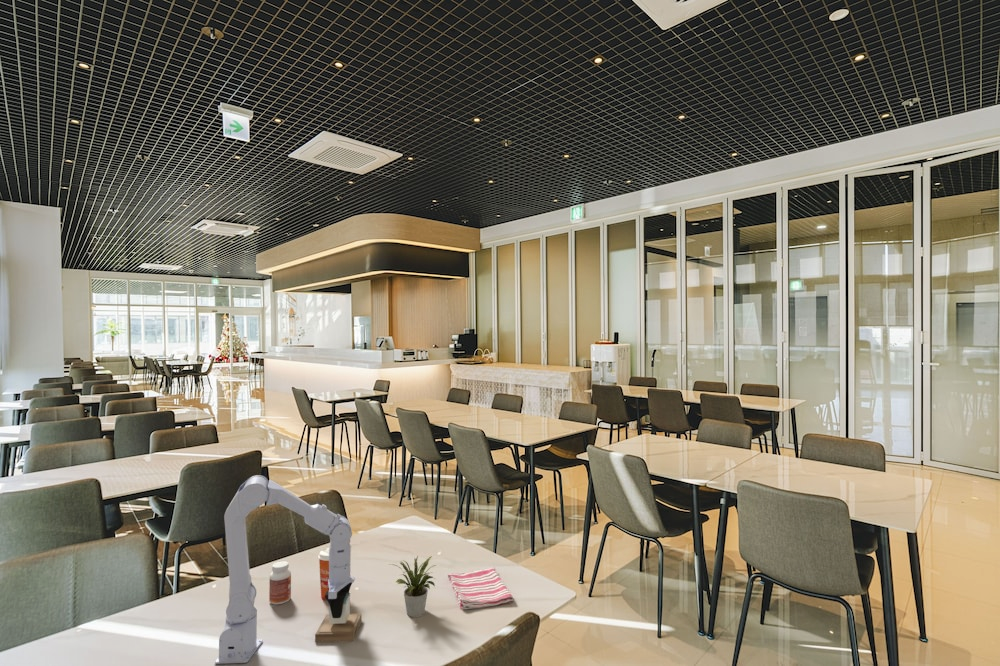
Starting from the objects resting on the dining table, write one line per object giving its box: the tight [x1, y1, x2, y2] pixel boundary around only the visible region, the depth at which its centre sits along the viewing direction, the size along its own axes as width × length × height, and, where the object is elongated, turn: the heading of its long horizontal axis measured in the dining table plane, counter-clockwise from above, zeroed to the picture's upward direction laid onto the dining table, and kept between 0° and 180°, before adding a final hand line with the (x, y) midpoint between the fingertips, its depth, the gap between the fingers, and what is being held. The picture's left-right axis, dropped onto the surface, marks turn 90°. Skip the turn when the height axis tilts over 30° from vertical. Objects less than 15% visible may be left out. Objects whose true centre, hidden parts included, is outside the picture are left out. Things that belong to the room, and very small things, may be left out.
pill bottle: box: [268, 560, 292, 605], centre depth 156 cm, size 6×6×11 cm
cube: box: [328, 592, 351, 624], centre depth 139 cm, size 5×5×6 cm
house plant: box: [387, 555, 437, 618], centre depth 148 cm, size 14×14×16 cm
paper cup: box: [317, 547, 329, 601], centre depth 159 cm, size 8×8×14 cm
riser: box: [314, 613, 362, 643], centre depth 139 cm, size 10×10×2 cm
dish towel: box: [447, 567, 514, 610], centre depth 163 cm, size 17×23×4 cm
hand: (339, 612), depth 139 cm, fingers closed on cube, 4 cm apart
